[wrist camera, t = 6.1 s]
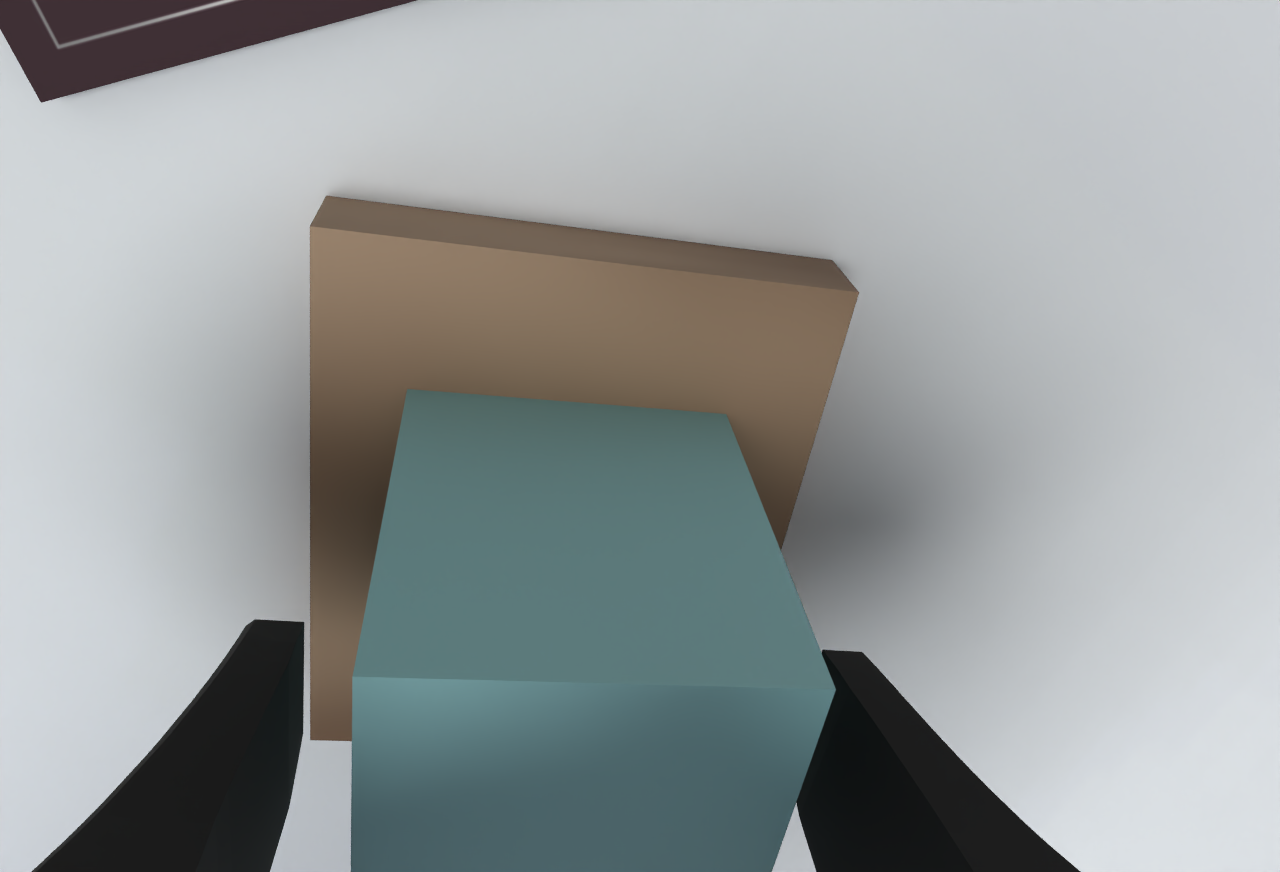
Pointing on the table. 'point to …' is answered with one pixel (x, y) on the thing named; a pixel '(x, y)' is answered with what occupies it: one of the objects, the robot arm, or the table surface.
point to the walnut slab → (537, 363)
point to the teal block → (577, 648)
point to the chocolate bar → (149, 34)
